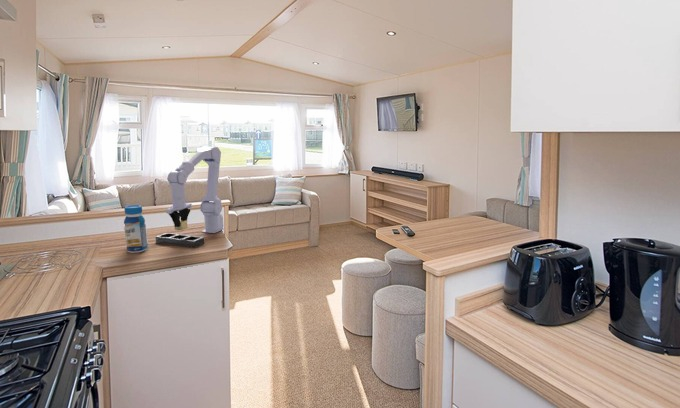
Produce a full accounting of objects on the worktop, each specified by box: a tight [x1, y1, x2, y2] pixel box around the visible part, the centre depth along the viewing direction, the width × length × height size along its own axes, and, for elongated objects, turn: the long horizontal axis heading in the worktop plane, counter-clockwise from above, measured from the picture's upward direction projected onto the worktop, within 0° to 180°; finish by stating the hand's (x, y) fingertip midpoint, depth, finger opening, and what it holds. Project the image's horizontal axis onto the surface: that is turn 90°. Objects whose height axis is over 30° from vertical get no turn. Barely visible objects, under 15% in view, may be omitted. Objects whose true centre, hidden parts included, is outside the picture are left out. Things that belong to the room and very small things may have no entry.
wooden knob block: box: [173, 219, 189, 231], centre depth 182 cm, size 4×4×4 cm
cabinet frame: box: [155, 232, 205, 249], centre depth 183 cm, size 7×22×3 cm, turn 71°
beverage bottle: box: [123, 204, 148, 254], centre depth 170 cm, size 8×8×20 cm
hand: (180, 225), depth 182 cm, fingers closed on wooden knob block, 4 cm apart
